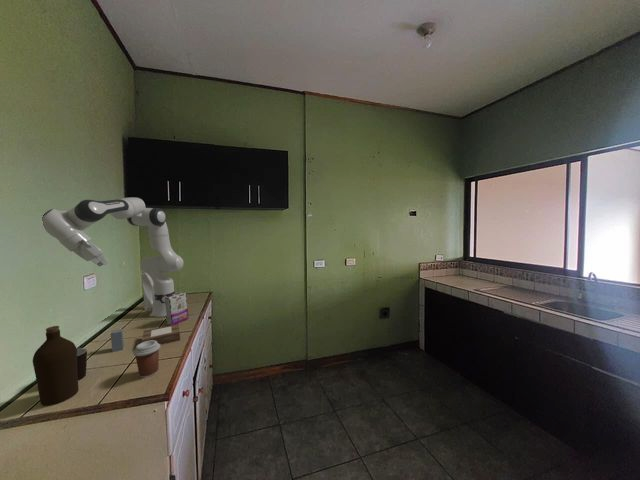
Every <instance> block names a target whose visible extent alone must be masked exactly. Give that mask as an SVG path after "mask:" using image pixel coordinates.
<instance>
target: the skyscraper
mask: <svg viewBox="0 0 640 480" xmlns="http://www.w3.org/2000/svg"><path fill="white" fill-rule="evenodd" d="M142 272H143V273H142ZM140 274H141V275H140V277H141V284H142V288H143V305H144V311H151V310H152V311H153V306H152V303H153V302H154V301H155V298H154V294H155V288H154V283H153V280H152V279H151V277H150V276H149V275H148V274H147V273H146V272H144V271H143V270H142V269H141V270H140Z"/></svg>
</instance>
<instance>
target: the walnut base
mask: <svg viewBox="0 0 640 480" xmlns="http://www.w3.org/2000/svg"><path fill="white" fill-rule="evenodd" d="M150 340H155V341H157V343H159V344H160V346H161V344H162V345H166V344H171V343H174V342H178V341H181V333H180V325H179V323H177V324H174V325H166V326H162V327H157V328H152V329H147V330H143V333H142V338H141V343H142V342H145V341H150ZM170 342H171V343H170ZM165 343H166V344H165Z"/></svg>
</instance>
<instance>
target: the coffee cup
mask: <svg viewBox="0 0 640 480" xmlns="http://www.w3.org/2000/svg"><path fill="white" fill-rule="evenodd" d="M160 349H161V345H160V344H159V343H157V341H155V340H150V341H145V342H142V341H141V343H138V344H137V345H136V346H135V349H134V350H133V351H132V354H133V356H135V361H136V364H137V365H136V366H137V370H138V376H139V378H141V379H146V378H151V377H153V376H155V375H156V374H158V373H159V370H160V369H159V360H160V359H159V356H160V354H159V353H160V352H159V351H160Z"/></svg>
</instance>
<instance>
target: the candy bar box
mask: <svg viewBox="0 0 640 480" xmlns="http://www.w3.org/2000/svg"><path fill="white" fill-rule="evenodd" d="M187 300H188V299H187V293H185V292H180V293H175V295H173V296H170V297H167V298H165V306H166V316H165V317H166V325H167V326H170V325H175V324H179V323H181V322H184V321H187V320H188V319H189V309H188V301H187Z"/></svg>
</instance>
